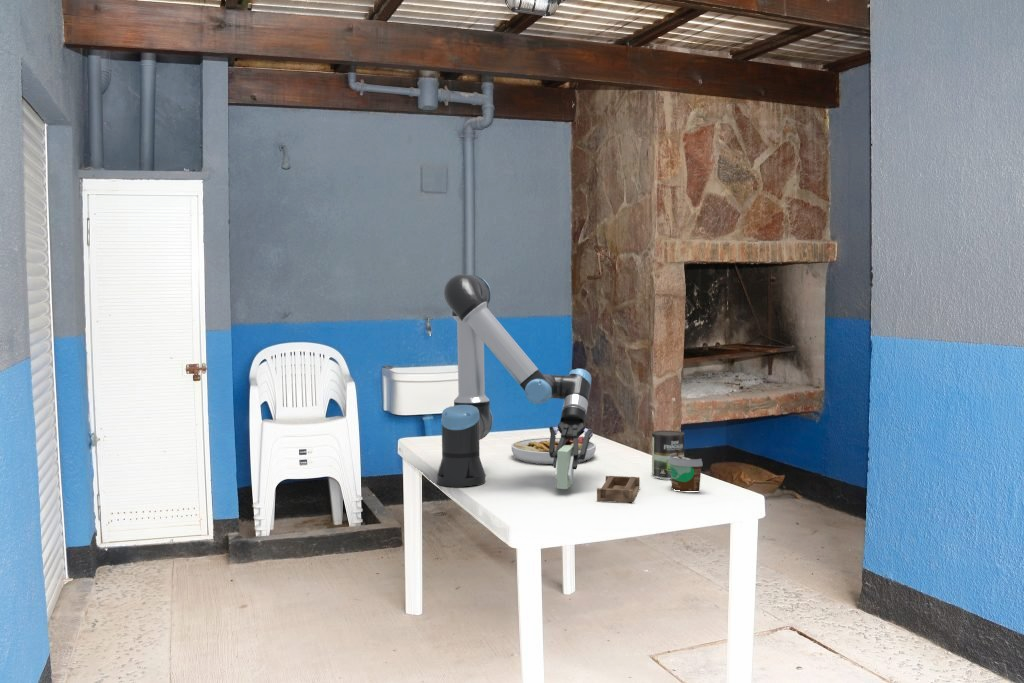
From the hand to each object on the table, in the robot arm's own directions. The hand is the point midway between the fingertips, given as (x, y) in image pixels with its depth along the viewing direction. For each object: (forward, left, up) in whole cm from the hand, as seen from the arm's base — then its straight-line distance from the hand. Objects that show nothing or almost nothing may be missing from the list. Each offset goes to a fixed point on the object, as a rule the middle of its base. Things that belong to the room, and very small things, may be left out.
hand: (562, 477), depth 248 cm
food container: (+33, +13, -5) cm, 36 cm away
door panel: (0, +4, -3) cm, 5 cm away
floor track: (+16, +3, -5) cm, 17 cm away
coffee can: (+28, +31, -5) cm, 42 cm away
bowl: (-14, +54, -6) cm, 56 cm away
